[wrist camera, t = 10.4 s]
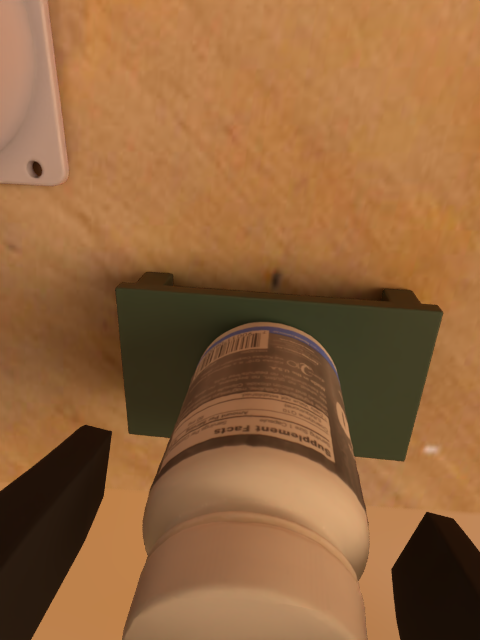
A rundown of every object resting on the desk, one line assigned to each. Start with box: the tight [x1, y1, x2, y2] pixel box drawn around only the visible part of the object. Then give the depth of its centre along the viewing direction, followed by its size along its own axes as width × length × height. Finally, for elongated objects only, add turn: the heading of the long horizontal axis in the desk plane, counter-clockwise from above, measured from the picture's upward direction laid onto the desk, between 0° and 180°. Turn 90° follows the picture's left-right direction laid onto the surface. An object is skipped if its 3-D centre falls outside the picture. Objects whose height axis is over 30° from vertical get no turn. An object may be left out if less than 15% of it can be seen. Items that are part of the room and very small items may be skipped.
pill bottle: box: [122, 322, 369, 640], centre depth 11 cm, size 5×5×8 cm
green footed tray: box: [115, 272, 443, 461], centre depth 15 cm, size 10×6×2 cm, turn 88°
